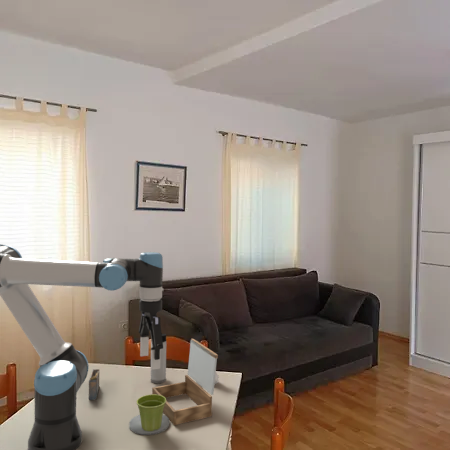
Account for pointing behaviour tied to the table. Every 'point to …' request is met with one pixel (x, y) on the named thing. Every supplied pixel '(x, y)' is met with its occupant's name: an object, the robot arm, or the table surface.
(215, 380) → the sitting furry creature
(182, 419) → the frame
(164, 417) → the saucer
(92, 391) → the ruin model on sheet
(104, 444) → the table surface
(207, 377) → the lid
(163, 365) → the travel mug
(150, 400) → the plant pot
